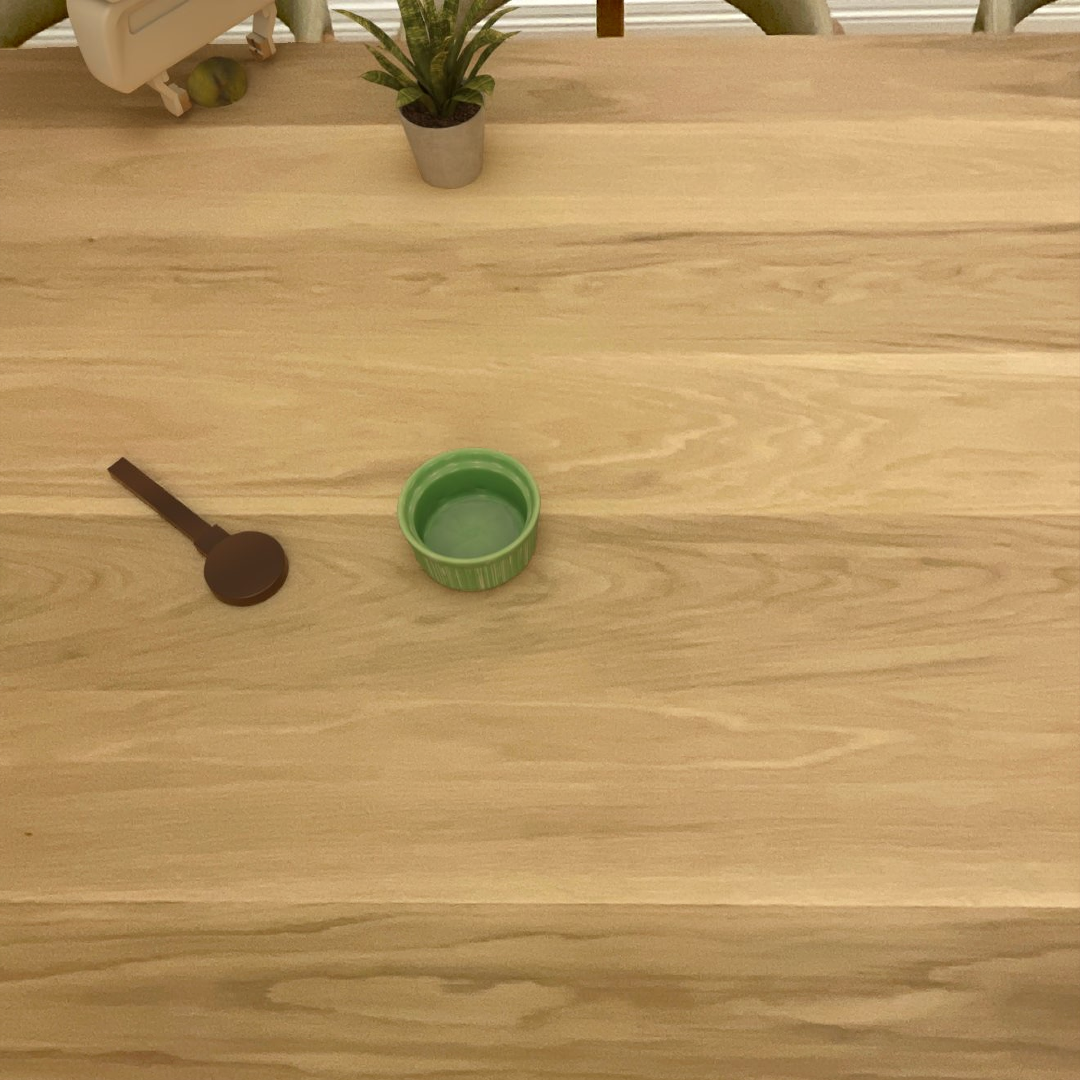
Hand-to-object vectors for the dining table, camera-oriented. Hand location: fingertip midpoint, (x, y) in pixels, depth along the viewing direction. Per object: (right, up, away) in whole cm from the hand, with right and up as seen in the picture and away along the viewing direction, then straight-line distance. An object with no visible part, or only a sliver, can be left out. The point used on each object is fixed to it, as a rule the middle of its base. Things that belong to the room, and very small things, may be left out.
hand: (223, 82), depth 99 cm
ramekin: (+24, -40, -23) cm, 52 cm away
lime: (0, -2, +2) cm, 3 cm away
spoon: (+5, -40, -22) cm, 45 cm away
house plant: (+21, -9, -3) cm, 23 cm away
